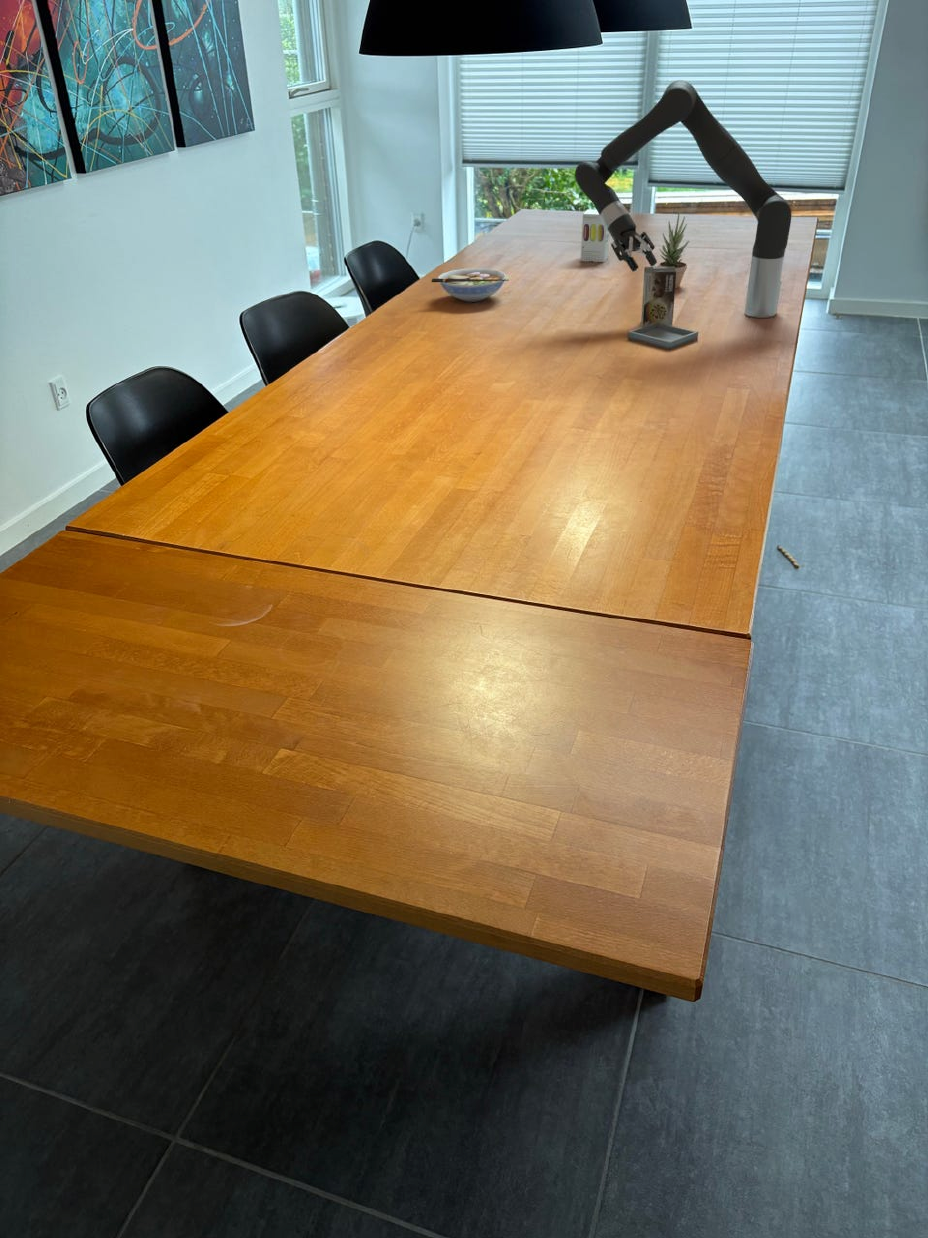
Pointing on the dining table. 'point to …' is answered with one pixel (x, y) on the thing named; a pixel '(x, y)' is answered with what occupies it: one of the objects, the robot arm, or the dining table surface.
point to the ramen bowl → (471, 283)
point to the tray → (663, 335)
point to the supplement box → (594, 238)
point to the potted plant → (674, 251)
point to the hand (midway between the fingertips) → (645, 266)
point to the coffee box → (658, 295)
